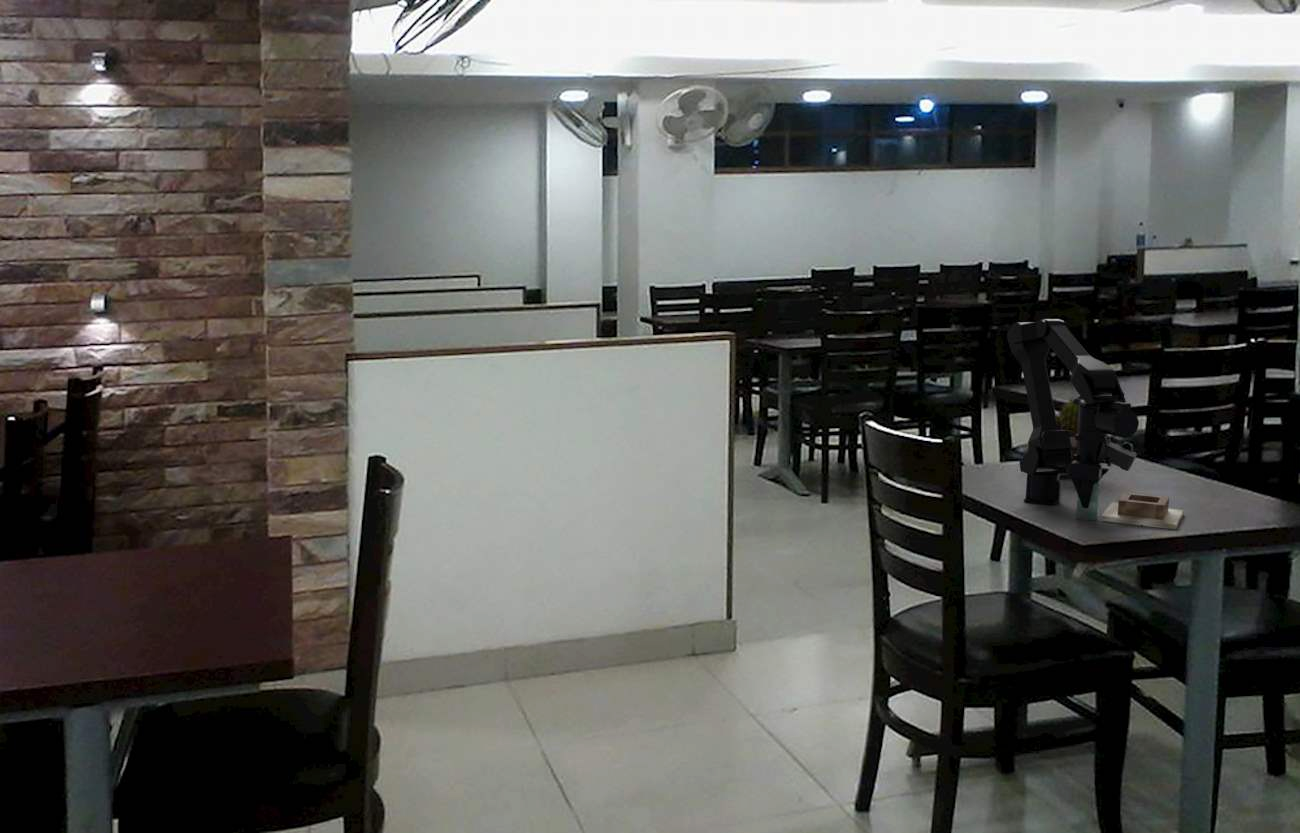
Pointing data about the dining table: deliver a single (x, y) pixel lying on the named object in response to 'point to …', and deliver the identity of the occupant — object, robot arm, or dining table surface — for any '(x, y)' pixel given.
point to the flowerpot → (1069, 426)
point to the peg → (1092, 510)
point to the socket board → (1143, 511)
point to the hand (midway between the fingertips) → (1087, 505)
